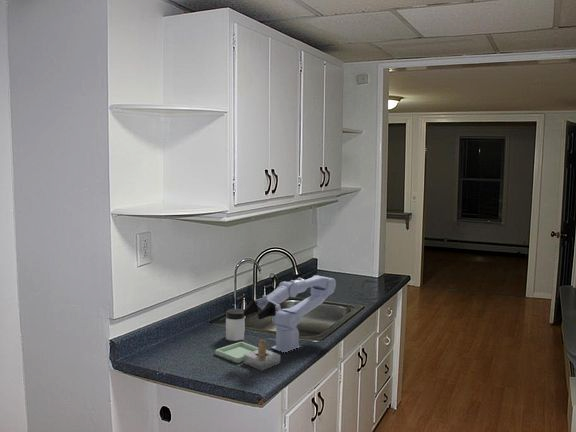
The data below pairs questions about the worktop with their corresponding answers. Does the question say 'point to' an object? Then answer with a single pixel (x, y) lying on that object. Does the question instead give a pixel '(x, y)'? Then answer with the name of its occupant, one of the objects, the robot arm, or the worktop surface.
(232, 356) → the tray
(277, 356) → the socket block
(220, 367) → the worktop surface
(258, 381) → the worktop surface
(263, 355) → the pin
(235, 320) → the jar
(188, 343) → the worktop surface
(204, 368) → the worktop surface
